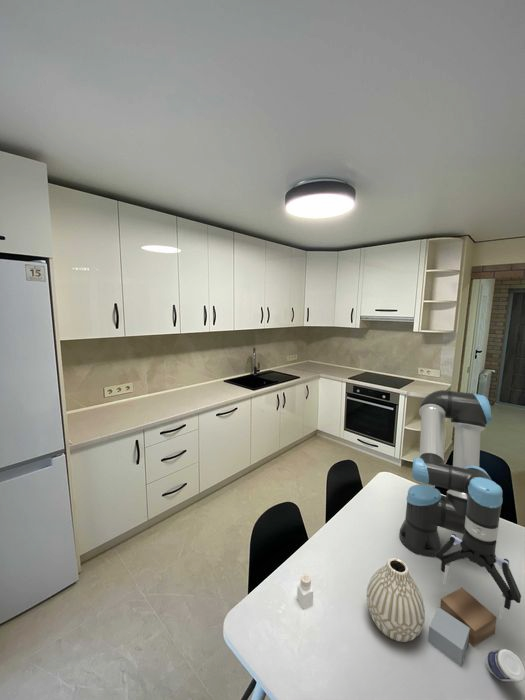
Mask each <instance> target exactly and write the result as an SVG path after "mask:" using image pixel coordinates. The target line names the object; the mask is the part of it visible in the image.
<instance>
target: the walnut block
mask: <svg viewBox="0 0 525 700" xmlns="http://www.w3.org/2000/svg"><path fill="white" fill-rule="evenodd" d="M439 608H441V609H442V610H444V611H445V612H447V613H448V614H450V615H451V616H453V617H454V618H456V619H457V620H459V621H460V622H462V623H463V624H465V625H466V626H468V627H469V628H470V632H469V641H468V645H470V646H471V647H472V648H474V647H476V646H477V645H479V644H480V643H483V642H484V641H486V640H487V639H488V638H490V637H492V636H493V635H495V633H496V626H497V618H498V617H497V616H496V615H495V614H494V613H493V612H491V610H489V609H488V608H487V607H486V606H484V604H483V603H481V602H479V600H478V599H476V598H475V597H474V596H473V595H472V594H471V593H469V592H468V591H467V590H466V589H465V588H463V587H460V588H457V589H456V590H454V591H452V592H451V593H449V594H447V595H445V596H443V597H440V603H439Z"/></svg>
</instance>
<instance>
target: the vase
mask: <svg viewBox="0 0 525 700" xmlns="http://www.w3.org/2000/svg"><path fill="white" fill-rule="evenodd" d="M408 567H409V566H408V565H407V564H406V563H405V562H404V561H403V560H401V559H399V558H396V557H391V558H389V559H388V560H387V562H386V563H385V565H383V566H381V567H380V568H379V569H377V570H376V571H375V572H374V573H373V574H372V576H371V577H370V580H369V582H368V583H367V587H366V602H367V603H366V604H367V608H368V612H369V615H370V617H371V619H372V620H373V622H374V624H375V626H376V627H377V629H379V631H381V632H382V633H383V634H384V635H385V636H387V637H388V638H390V639H391V640H394V641H396V642H399V643H400V642H402V643H406V642H410V641H413V640H414V639H416V638H417V637H418V636H419V635H420V634H421V632H422V630H423V628H424V624H425V619H426V609H425V604H424V600H423V596H422V594H421V591H420V589H419V587H418V585H417V584H416V582H415V580H414V578H413V577H412V576H411V574H410V570H409V568H408Z"/></svg>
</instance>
